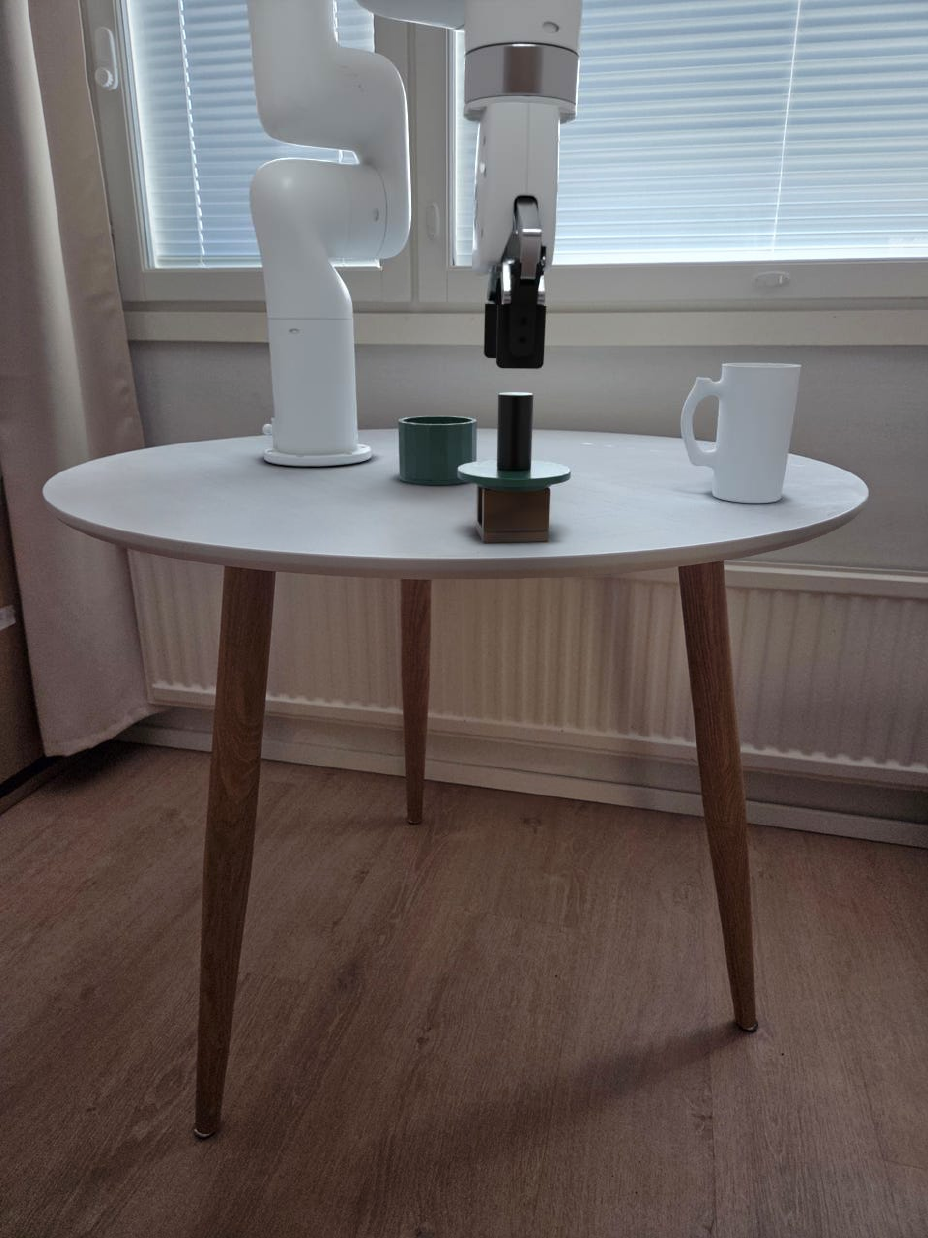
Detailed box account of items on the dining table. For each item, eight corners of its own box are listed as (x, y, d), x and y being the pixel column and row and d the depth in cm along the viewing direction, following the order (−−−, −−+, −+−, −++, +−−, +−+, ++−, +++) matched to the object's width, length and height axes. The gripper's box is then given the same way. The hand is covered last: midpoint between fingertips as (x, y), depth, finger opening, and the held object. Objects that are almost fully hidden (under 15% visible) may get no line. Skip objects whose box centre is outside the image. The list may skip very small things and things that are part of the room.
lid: (460, 495, 60) (460, 399, 58) (454, 474, 68) (454, 388, 66) (580, 494, 60) (584, 398, 58) (559, 473, 68) (563, 388, 66)
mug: (774, 490, 82) (790, 362, 78) (792, 505, 76) (811, 367, 72) (669, 488, 83) (680, 362, 79) (679, 502, 77) (691, 366, 73)
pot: (399, 485, 85) (397, 424, 83) (400, 471, 92) (398, 415, 90) (478, 484, 85) (479, 424, 83) (473, 471, 93) (473, 415, 90)
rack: (483, 543, 63) (484, 490, 62) (476, 529, 67) (476, 479, 66) (548, 541, 64) (550, 488, 62) (537, 527, 68) (539, 478, 67)
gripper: (456, 116, 63) (454, 354, 69) (473, 55, 47) (468, 372, 53) (555, 119, 64) (544, 355, 70) (605, 60, 48) (584, 373, 54)
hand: (511, 362), depth 62 cm, fingers open, 9 cm apart
